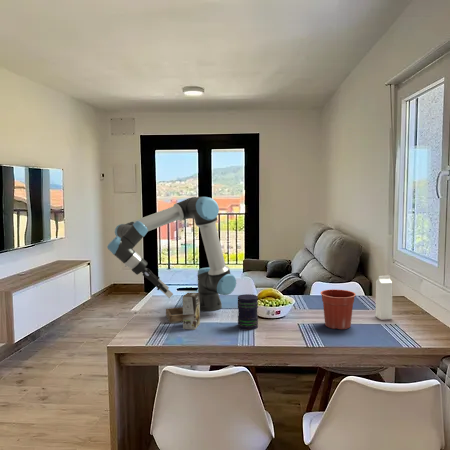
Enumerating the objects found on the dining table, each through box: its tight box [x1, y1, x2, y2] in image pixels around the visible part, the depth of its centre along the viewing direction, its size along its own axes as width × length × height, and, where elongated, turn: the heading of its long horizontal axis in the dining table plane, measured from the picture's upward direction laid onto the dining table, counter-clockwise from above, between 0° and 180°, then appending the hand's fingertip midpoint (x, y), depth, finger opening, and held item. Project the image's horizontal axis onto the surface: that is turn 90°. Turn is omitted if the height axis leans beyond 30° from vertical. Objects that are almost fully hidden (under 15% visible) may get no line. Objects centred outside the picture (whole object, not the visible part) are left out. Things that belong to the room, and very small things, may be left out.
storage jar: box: [237, 293, 259, 331], centre depth 203 cm, size 10×10×15 cm
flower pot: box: [320, 288, 357, 330], centre depth 203 cm, size 16×16×16 cm
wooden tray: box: [165, 306, 183, 325], centre depth 218 cm, size 13×14×4 cm
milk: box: [375, 274, 393, 321], centre depth 214 cm, size 6×6×22 cm
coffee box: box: [182, 292, 201, 331], centre depth 204 cm, size 9×6×16 cm
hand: (169, 292), depth 201 cm, fingers open, 13 cm apart
